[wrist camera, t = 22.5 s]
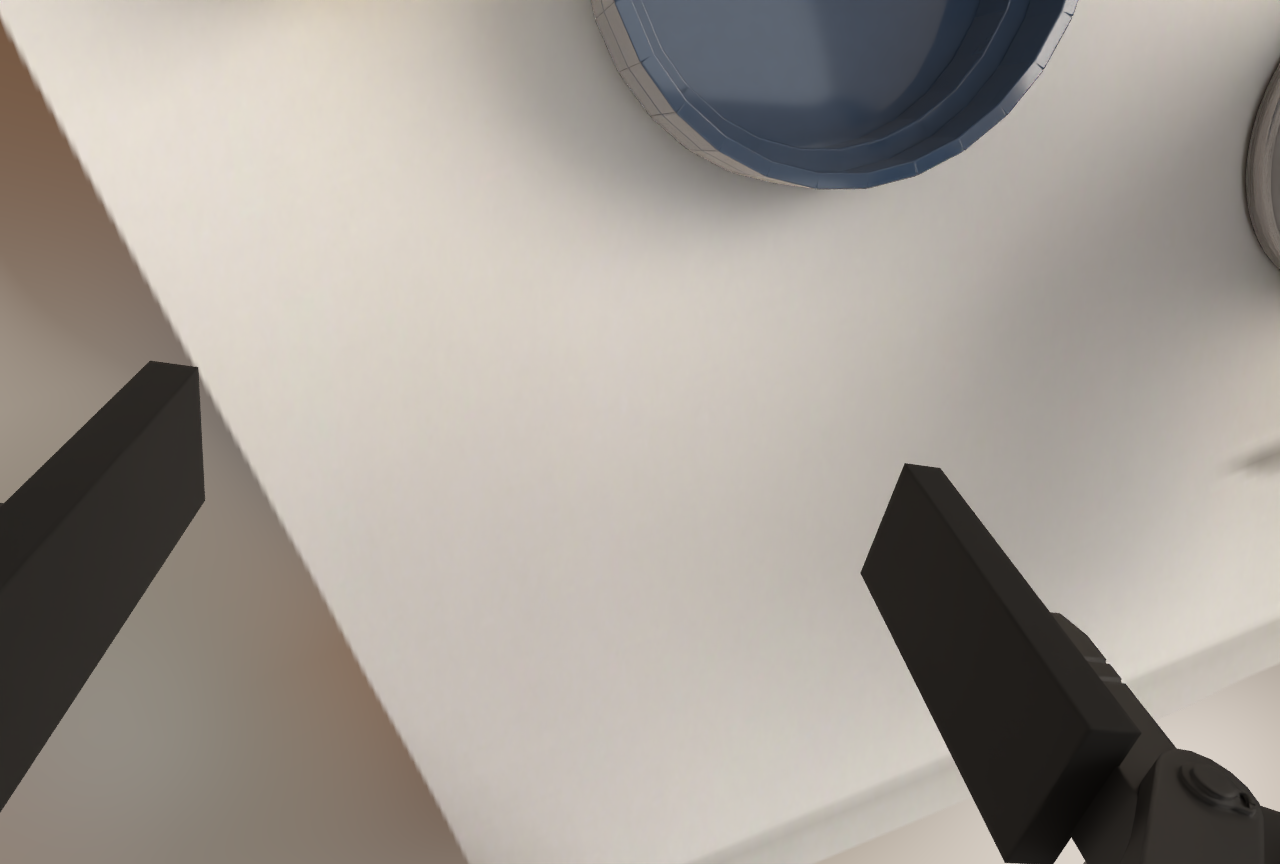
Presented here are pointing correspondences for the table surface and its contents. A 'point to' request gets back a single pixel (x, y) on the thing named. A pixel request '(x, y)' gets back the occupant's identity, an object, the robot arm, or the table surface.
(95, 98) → the table surface
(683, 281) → the table surface
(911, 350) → the table surface
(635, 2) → the bowl
